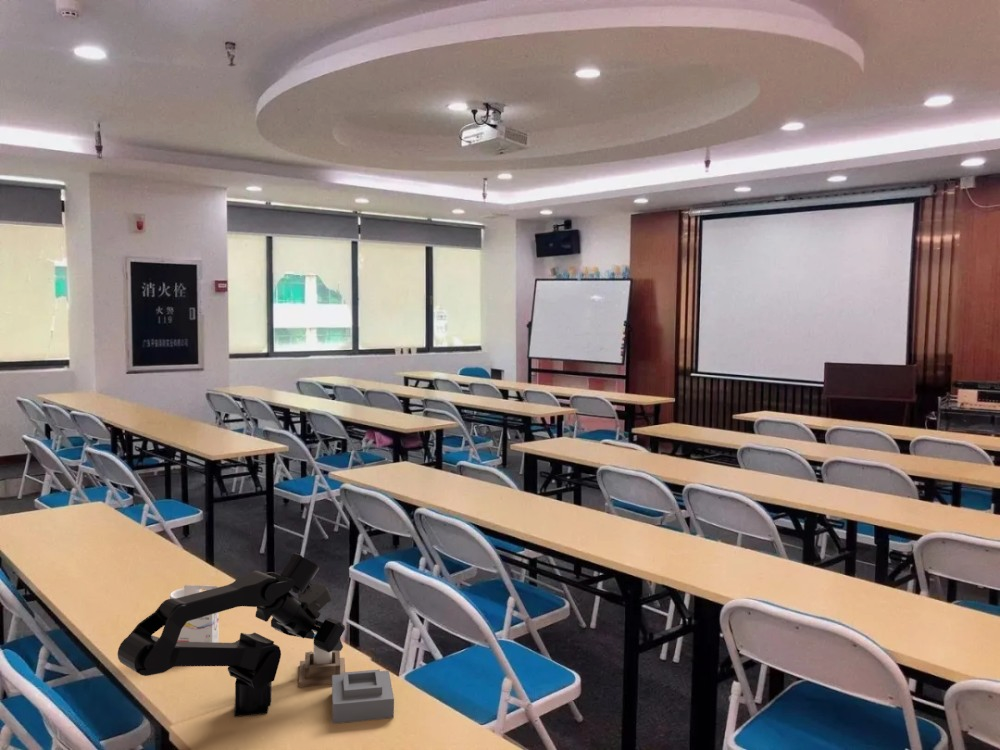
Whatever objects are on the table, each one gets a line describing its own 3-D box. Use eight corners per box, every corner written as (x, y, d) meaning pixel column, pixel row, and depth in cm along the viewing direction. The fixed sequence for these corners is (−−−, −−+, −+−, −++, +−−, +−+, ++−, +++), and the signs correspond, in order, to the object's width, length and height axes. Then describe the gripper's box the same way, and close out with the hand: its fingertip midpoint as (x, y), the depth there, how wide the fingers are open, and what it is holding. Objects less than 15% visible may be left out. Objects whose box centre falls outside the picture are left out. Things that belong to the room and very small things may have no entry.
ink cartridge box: (175, 652, 175) (174, 591, 174) (183, 643, 180) (183, 584, 179) (212, 653, 175) (212, 592, 174) (219, 643, 180) (219, 584, 179)
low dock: (298, 686, 161) (298, 671, 161) (300, 665, 171) (300, 650, 170) (345, 682, 163) (345, 667, 163) (344, 661, 173) (344, 647, 173)
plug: (323, 675, 164) (324, 640, 164) (309, 670, 166) (310, 636, 165) (335, 667, 168) (335, 633, 167) (321, 663, 170) (322, 629, 169)
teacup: (207, 612, 198) (207, 592, 198) (180, 621, 192) (179, 601, 192) (187, 602, 204) (187, 583, 204) (160, 611, 198) (159, 591, 198)
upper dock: (332, 723, 147) (333, 697, 147) (331, 693, 159) (332, 668, 158) (393, 717, 150) (394, 691, 150) (388, 688, 162) (389, 663, 161)
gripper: (338, 587, 156) (375, 621, 166) (281, 567, 167) (319, 600, 177) (309, 635, 151) (348, 668, 161) (252, 612, 162) (292, 643, 171)
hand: (327, 642), depth 168 cm, fingers open, 9 cm apart
